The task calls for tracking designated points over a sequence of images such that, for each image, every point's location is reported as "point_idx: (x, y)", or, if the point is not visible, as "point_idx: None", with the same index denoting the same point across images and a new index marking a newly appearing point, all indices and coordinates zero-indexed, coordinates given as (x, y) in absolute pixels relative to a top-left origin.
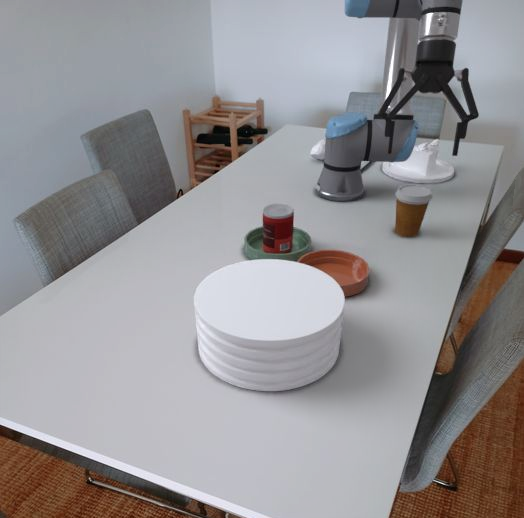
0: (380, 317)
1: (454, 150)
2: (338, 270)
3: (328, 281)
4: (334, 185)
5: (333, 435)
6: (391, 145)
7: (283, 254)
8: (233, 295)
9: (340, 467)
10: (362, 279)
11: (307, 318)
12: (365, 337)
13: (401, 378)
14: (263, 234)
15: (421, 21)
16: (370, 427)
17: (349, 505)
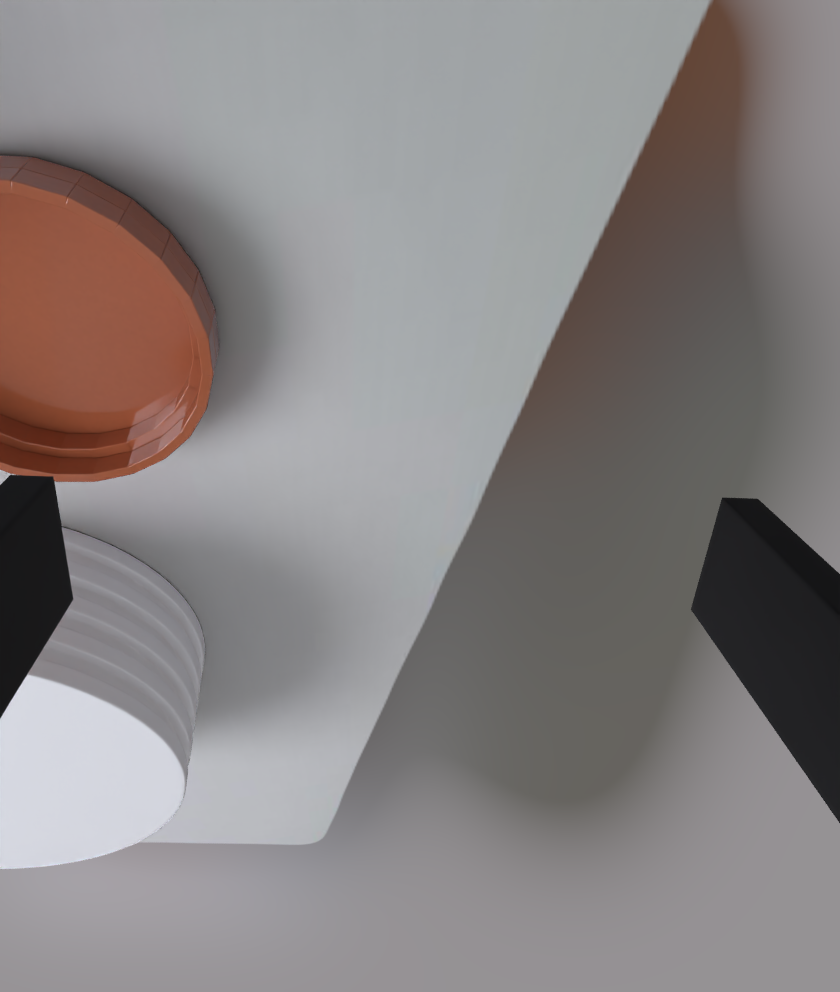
0: (292, 503)
1: (713, 639)
2: (59, 252)
3: (103, 717)
4: None
5: (244, 767)
6: (31, 653)
7: None
8: None
9: (266, 796)
10: (195, 425)
11: (111, 816)
12: (260, 581)
13: (354, 666)
14: None
15: None
16: (301, 749)
17: (287, 822)
